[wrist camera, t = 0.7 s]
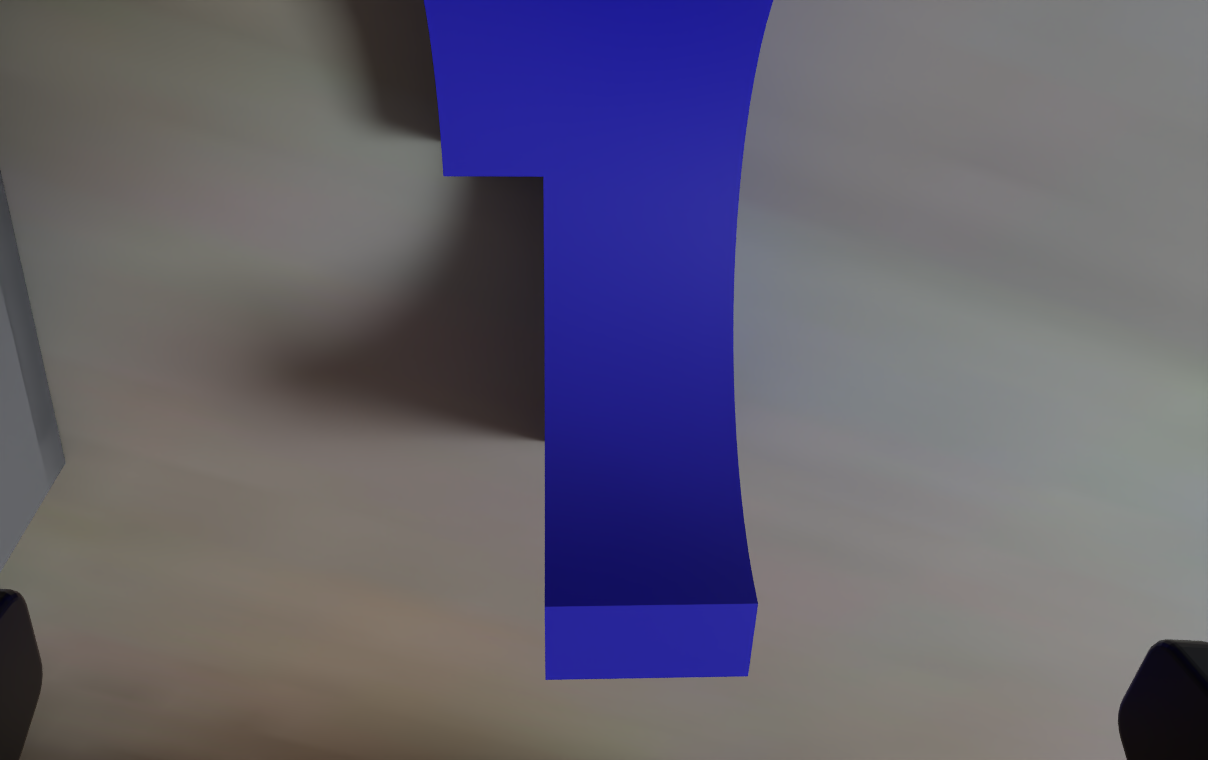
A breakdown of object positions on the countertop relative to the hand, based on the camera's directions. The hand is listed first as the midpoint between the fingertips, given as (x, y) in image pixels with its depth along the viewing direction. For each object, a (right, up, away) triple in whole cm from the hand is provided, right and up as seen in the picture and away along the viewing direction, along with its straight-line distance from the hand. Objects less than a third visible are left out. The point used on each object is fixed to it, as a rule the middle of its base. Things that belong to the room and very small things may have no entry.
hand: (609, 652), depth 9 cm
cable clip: (0, +6, +9) cm, 11 cm away
